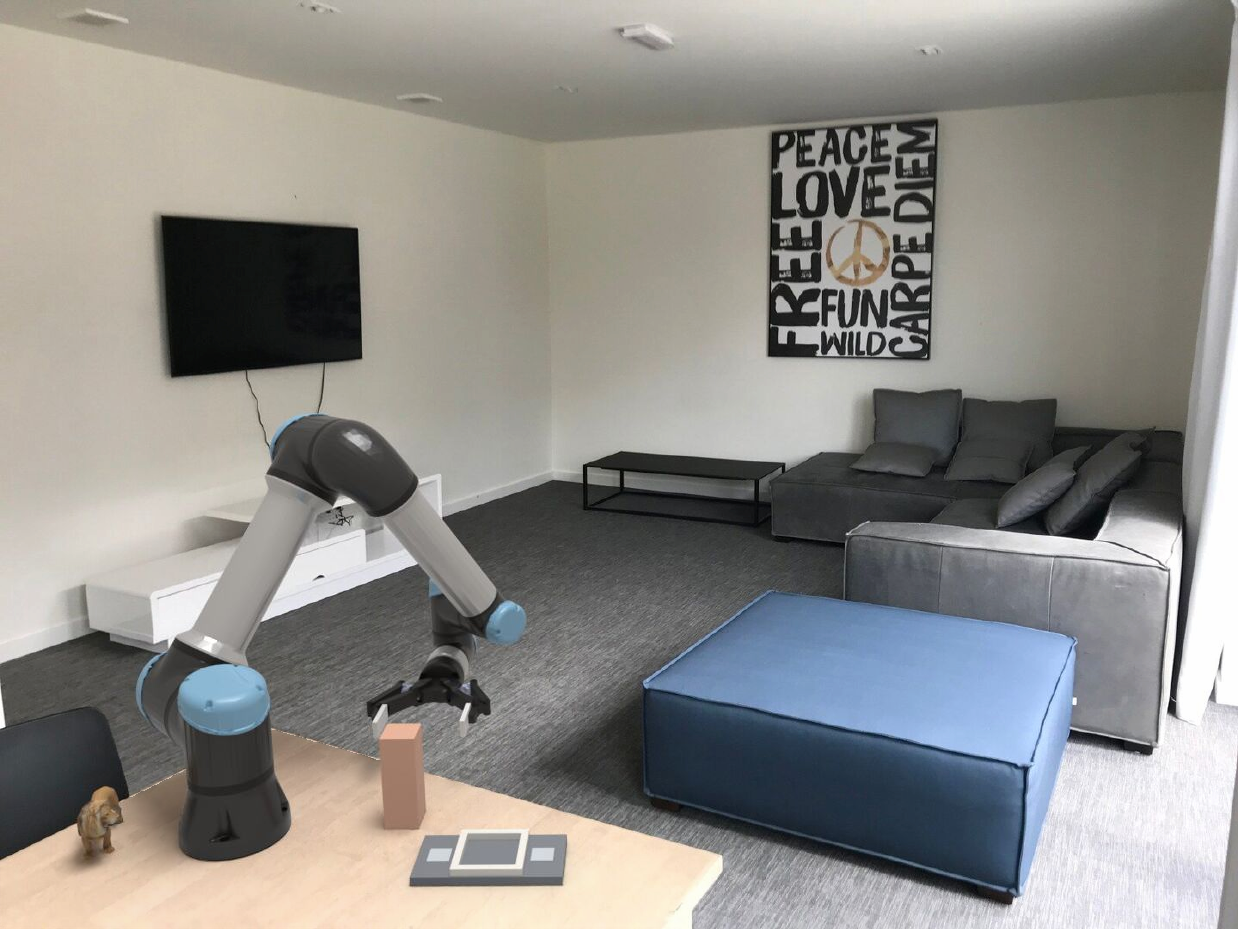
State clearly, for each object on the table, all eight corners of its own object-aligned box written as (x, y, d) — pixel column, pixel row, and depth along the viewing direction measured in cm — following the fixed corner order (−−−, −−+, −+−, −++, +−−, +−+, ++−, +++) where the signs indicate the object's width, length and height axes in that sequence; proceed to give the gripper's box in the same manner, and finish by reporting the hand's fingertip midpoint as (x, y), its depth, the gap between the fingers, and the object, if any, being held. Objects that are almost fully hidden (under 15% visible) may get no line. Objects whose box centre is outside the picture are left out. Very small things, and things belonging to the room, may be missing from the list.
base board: (409, 886, 129) (409, 870, 129) (425, 843, 139) (424, 828, 138) (562, 885, 129) (562, 869, 128) (567, 842, 139) (566, 828, 138)
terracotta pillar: (384, 829, 142) (379, 739, 140) (392, 811, 147) (387, 723, 145) (419, 829, 142) (414, 739, 140) (426, 810, 147) (421, 723, 145)
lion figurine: (124, 863, 135) (117, 803, 133) (80, 874, 133) (72, 813, 131) (124, 813, 148) (118, 757, 146) (84, 821, 146) (77, 765, 144)
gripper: (515, 693, 174) (499, 751, 154) (374, 696, 175) (340, 753, 154) (513, 653, 173) (497, 706, 152) (371, 656, 173) (336, 708, 153)
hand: (418, 730), depth 153 cm, fingers open, 13 cm apart
